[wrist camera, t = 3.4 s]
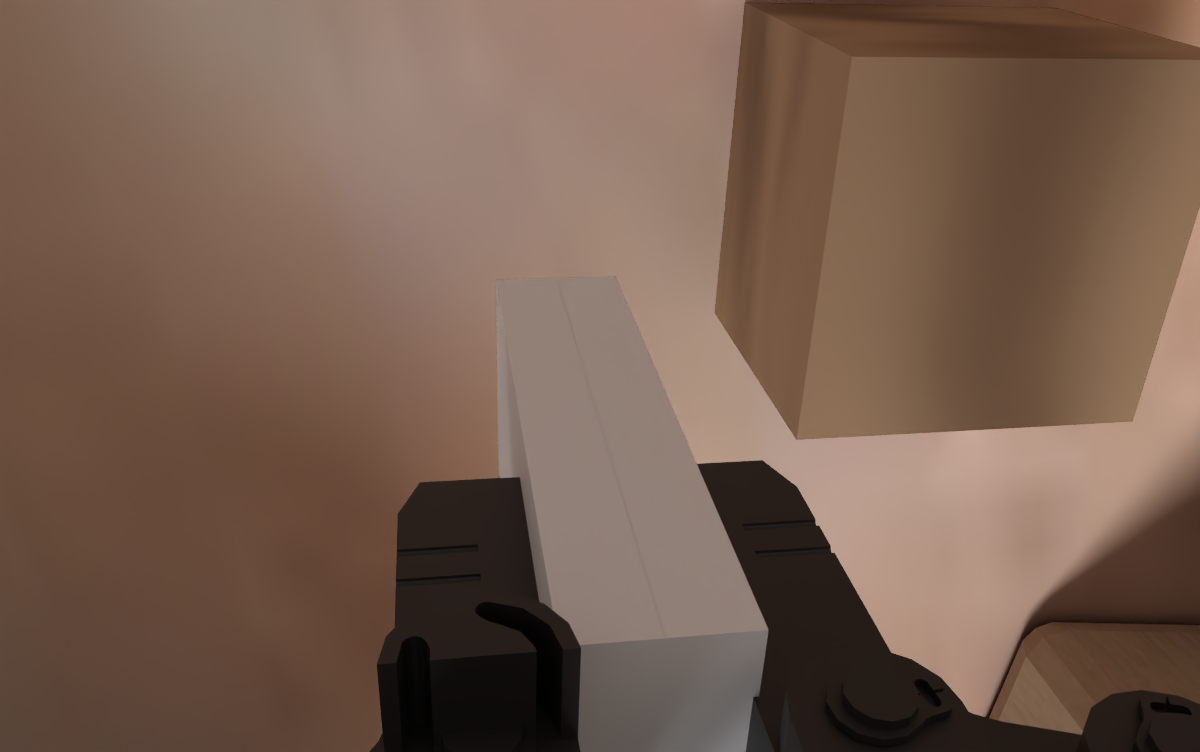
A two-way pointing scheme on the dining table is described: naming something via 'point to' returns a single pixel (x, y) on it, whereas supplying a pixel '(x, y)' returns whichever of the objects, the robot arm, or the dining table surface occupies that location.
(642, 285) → the dining table surface
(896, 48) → the walnut block
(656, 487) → the robot arm
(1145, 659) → the wooden block
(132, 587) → the dining table surface
